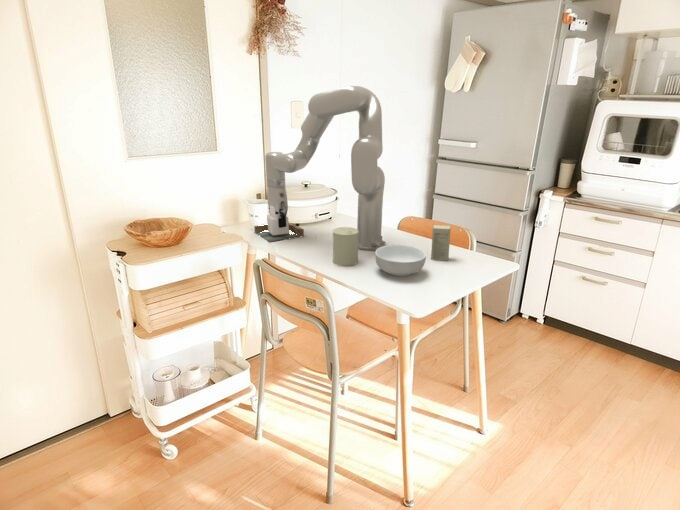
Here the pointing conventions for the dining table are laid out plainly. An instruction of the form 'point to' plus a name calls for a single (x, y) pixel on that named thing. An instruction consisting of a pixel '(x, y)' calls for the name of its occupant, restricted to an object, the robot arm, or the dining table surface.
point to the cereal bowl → (400, 259)
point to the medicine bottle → (276, 223)
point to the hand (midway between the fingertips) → (278, 224)
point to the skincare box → (440, 242)
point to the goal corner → (271, 238)
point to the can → (345, 246)
